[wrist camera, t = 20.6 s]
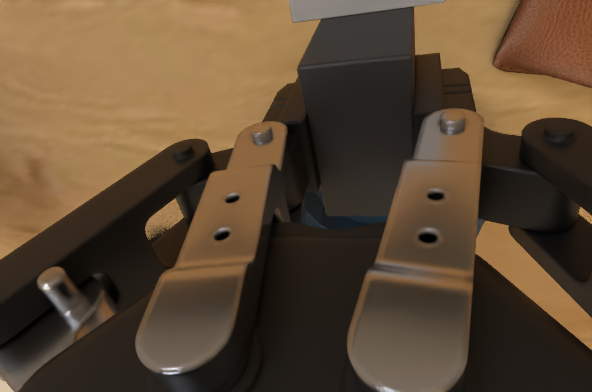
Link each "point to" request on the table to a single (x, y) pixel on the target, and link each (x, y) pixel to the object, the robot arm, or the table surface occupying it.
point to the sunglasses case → (549, 40)
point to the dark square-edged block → (359, 98)
